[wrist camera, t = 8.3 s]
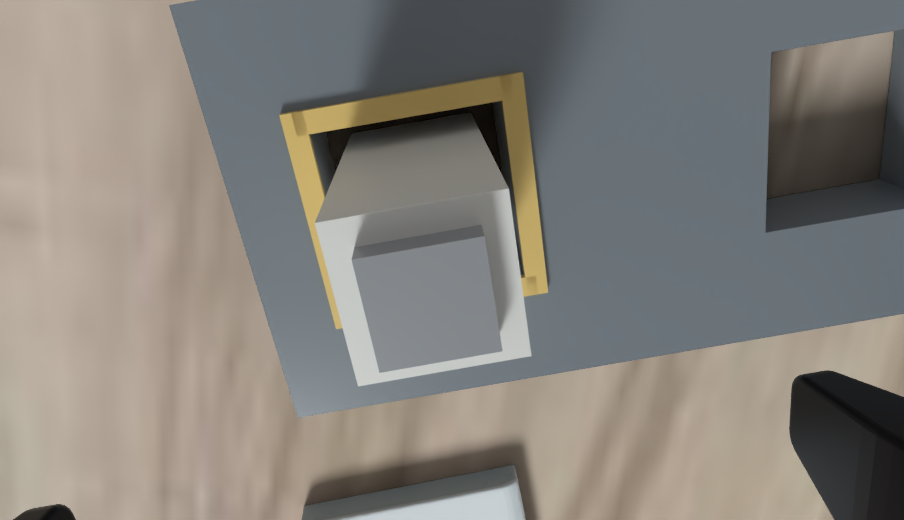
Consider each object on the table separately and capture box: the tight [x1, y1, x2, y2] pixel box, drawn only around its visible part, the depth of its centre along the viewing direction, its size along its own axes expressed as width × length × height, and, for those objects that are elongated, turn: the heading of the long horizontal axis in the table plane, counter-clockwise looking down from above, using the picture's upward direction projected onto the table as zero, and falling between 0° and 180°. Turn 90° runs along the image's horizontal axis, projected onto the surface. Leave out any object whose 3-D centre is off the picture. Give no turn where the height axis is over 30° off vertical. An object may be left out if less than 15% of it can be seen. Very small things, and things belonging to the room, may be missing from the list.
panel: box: [169, 0, 904, 418], centre depth 18 cm, size 22×12×3 cm, turn 99°
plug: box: [315, 112, 532, 386], centre depth 16 cm, size 4×4×9 cm
